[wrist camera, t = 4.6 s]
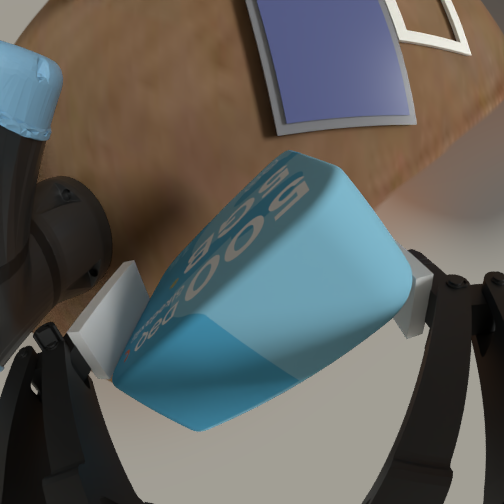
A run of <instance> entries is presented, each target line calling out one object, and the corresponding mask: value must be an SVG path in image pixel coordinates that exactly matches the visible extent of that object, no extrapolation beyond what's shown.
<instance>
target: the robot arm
mask: <svg viewBox="0 0 504 504" xmlns="http://www.w3.org/2000/svg"><path fill="white" fill-rule="evenodd" d="M62 85H63V75H62V72H61V69H60V67H59V66H58V65H57V63H55V62H54V61H52V60H51V59H49V58H47V57H45V56H42V55H40V54H38V53H35V52H33V51H30V50H27V49H25V48H22V47H19V46H16V45H13V44H10V43H7V42H4V41H0V372H1V371H3V369H4V365H5V364H6V363H7V361H8V360H9V359H10V357H11V356H12V355H13V354H14V352H15V351H16V350H17V349H18V347H19V346H20V345H21V344H22V342H23V341H24V340H25V339H26V338H27V337H28V335H29V334H30V333H31V332H32V331H33V330H34V328H35V327H36V326H37V325H38V324H39V323H40V322H41V320H42V319H43V318H44V317H45V316H46V315H47V314H48V313H49V312H50V310H51V309H52V308H53V307H54V306H55V305H56V304H57V303H60V302H62V301H65V300H67V299H70V298H73V297H75V296H78V295H80V294H83V293H85V292H87V291H89V290H90V289H91V288H93V287H94V286H95V285H96V284H97V283H98V282H99V280H100V279H101V278H102V277H103V276H104V275H105V273H106V271H107V269H108V267H109V264H110V261H111V255H112V237H111V231H110V226H109V223H108V220H107V217H106V215H105V212H104V210H103V208H102V206H101V204H100V203H99V201H98V200H97V198H96V197H95V196H94V194H93V193H92V192H91V191H90V190H89V189H88V188H87V187H86V186H85V185H83V184H82V183H81V182H79V181H77V180H75V179H73V178H70V177H65V176H57V177H52V178H49V179H46V180H43V181H41V182H39V183H37V178H38V173H39V168H40V164H41V159H42V155H43V151H44V147H45V143H46V140H48V139H49V138H50V135H51V122H52V118H53V115H54V111H55V108H56V105H57V102H58V99H59V96H60V93H61V90H62ZM36 183H37V184H36ZM394 241H395V242H396V244H397V245H398V247H399V248H400V250H401V251H402V253H403V254H404V256H405V258H406V259H407V261H408V263H409V264H410V267H411V270H412V287H411V291H410V294H409V296H408V298H407V300H406V302H405V304H404V305H403V307H402V308H401V309H400V311H399V312H398V313H397V314H396V315H395V316H394V317H393V318H394V320H395V321H396V323H397V325H398V326H399V328H400V329H401V331H402V332H403V334H404V335H405V337H406V338H407V339H408V338H411V337H414V336H417V335H420V334H422V333H423V329H424V325H425V322H426V324H427V325H428V326H429V327H430V330H429V334H428V338H427V341H426V345H425V351H424V356H423V360H422V364H421V367H420V371H419V375H418V378H417V382H416V385H415V388H414V391H413V394H412V397H411V400H410V404H409V406H408V409H407V412H406V415H405V417H404V420H403V423H402V425H401V428H400V430H399V433H398V435H397V438H396V440H395V442H394V445H393V447H392V449H391V451H390V453H389V455H388V458H387V460H386V462H385V464H384V466H383V468H382V470H381V472H380V474H379V476H378V478H377V479H376V481H375V483H374V485H373V487H372V488H371V490H370V491H369V493H368V495H367V496H366V498H365V499H364V501H363V502H362V504H443V503H444V501H445V498H446V496H447V493H448V491H449V488H450V485H451V481H452V478H453V471H452V470H451V468H450V463H451V459H452V456H453V453H454V449H455V446H456V442H457V438H458V434H459V429H460V425H461V420H462V416H463V411H464V405H465V399H466V392H467V385H468V377H469V368H470V367H469V366H470V355H471V340H472V344H473V349H474V353H475V358H476V362H477V367H478V373H479V378H480V384H481V391H482V398H483V407H484V418H485V434H486V471H485V486H484V502H483V504H504V274H503V273H500V272H488V273H487V274H486V275H485V277H484V281H483V284H474V285H470V283H469V282H468V281H467V280H466V279H465V278H463V277H462V276H458V275H446V274H445V273H444V272H443V271H442V270H440V269H439V268H438V267H437V266H436V265H435V264H433V263H432V262H431V261H430V260H429V259H427V258H426V257H425V256H424V255H423V254H422V253H420V252H418V251H415V250H413V249H411V250H406V249H405V248H404V247H403V246H402V245H400V244H399V243H398V242H397V241H396V240H394ZM149 300H150V298H149V296H148V293H147V291H146V289H145V286H144V284H143V281H142V279H141V276H140V274H139V271H138V269H137V266H136V264H135V261H134V260H132V261H127V262H123V264H122V265H121V266H120V267H119V268H118V269H117V270H116V272H115V273H114V274H113V275H112V276H111V277H110V279H109V280H108V281H107V282H106V283H105V285H104V286H103V287H102V288H101V289H100V291H99V292H98V293H97V294H96V295H95V297H94V298H93V299H92V300H91V302H90V303H89V304H88V305H87V307H86V308H85V309H84V310H83V312H82V313H81V314H80V316H79V317H78V318H77V319H76V321H75V322H74V323H73V325H72V326H71V327H70V329H69V330H68V331H67V333H66V334H65V336H64V337H62V335H61V334H60V332H59V330H58V329H57V327H56V325H55V324H54V323H53V322H48V323H46V324H44V325H42V326H40V327H39V328H38V329H37V330H36V331H35V333H34V334H33V338H34V339H35V341H36V342H37V344H38V345H39V347H40V348H41V350H42V352H41V353H38V354H37V353H36V352H35V350H34V349H33V348H32V346H26V347H23V348H22V349H20V350H19V352H18V353H17V354H16V356H15V358H14V361H13V363H12V366H11V369H10V371H9V374H8V377H7V379H6V382H5V385H4V388H3V391H2V394H1V397H0V504H153V503H148V502H145V503H144V502H143V501H142V500H141V499H140V498H139V497H138V496H137V495H136V493H135V491H134V489H133V487H132V485H131V483H130V481H129V479H128V477H127V475H126V473H125V471H124V469H123V466H122V464H121V462H120V460H119V457H118V455H117V453H116V450H115V448H114V445H113V443H112V440H111V438H110V435H109V433H108V430H107V427H106V424H105V421H104V418H103V415H102V412H101V409H100V406H99V402H98V399H97V396H96V392H95V389H94V385H93V381H92V379H91V378H90V377H89V375H88V374H89V373H90V371H91V370H92V371H93V373H94V374H95V375H96V377H97V378H99V379H110V378H111V376H112V374H113V372H114V370H115V367H116V365H117V363H118V361H119V359H120V357H121V355H122V353H123V351H124V349H125V347H126V345H127V343H128V341H129V339H130V337H131V335H132V333H133V331H134V329H135V327H136V325H137V323H138V321H139V319H140V317H141V315H142V313H143V311H144V310H145V308H146V306H147V304H148V302H149ZM31 383H32V385H33V386H34V387H35V388H36V390H38V394H37V395H36V394H35V393H34V392H33V391H32V389H31Z"/></svg>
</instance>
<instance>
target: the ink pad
mask: <svg viewBox="0 0 504 504" xmlns="http://www.w3.org/2000/svg"><path fill="white" fill-rule="evenodd" d="M245 3H246V7H247V11H248V14H249V18H250V22H251V25H252V29H253V33H254V37H255V41H256V45H257V49H258V53H259V57H260V61H261V65H262V70H263V74H264V78H265V83H266V87H267V91H268V96H269V101H270V105H271V110H272V115H273V119H274V124H275V129H276V134H277V136H281V135H287V134H294V133H301V132H309V131H317V130H326V129H336V128H347V127H360V126H377V125H417V123H416V116H415V110H414V104H413V99H412V94H411V89H410V84H409V80H408V75H407V71H406V67H405V63H404V60H403V56H402V52H401V49H400V45H399V42H398V39H397V36H396V33H395V30H394V27H393V24H392V21H391V18H390V16H389V13H388V10H387V8H386V5H385V3H384V0H245Z"/></svg>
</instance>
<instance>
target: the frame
mask: <svg viewBox="0 0 504 504" xmlns="http://www.w3.org/2000/svg"><path fill="white" fill-rule="evenodd" d="M441 2H442V4H443V7H444V9H445V11H446V14H447V16H448V19H449V21H450V24H451V27H452V30H453V32H454V35H455V38H456V41H457V42H456V41H453V40H449V39H446V38H442V37H438V36H433V35H429V34H424V33H419V32H414V31H409V30H406V27H405V24H404V21H403V19H402V16H401V13H400V11H399V8H398V6H397V3H396V1H395V0H384V3H385V5H386V8H387V10H388V13H389V16H390V18H391V21H392V24H393V27H394V30H395V33H396V36H397V39H398V42H403V43H410V44H416V45H422V46H428V47H433V48H437V49H442V50H446V51H450V52H454V53H458V54H462V55H466V56H470V55H471V52H470V49H469V46H468V43H467V40H466V37H465V34H464V31H463V28H462V26H461V23H460V20H459V18H458V15H457V13H456V11H455V8H454V6H453V4H452V1H451V0H441Z"/></svg>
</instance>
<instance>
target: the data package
mask: <svg viewBox="0 0 504 504" xmlns="http://www.w3.org/2000/svg"><path fill="white" fill-rule="evenodd" d="M411 287H412V270H411V267H410V264H409V263H408V261H407V259H406V258H405V256H404V254H403V253H402V251H401V250H400V248H399V247H398V245H397V244H396V242H395V241H394V239H393V238H392V236H391V235H390V233H389V232H388V230H387V229H386V227H385V226H384V225H383V223H382V222H381V220H380V219H379V217H378V216H377V215H376V213H375V212H374V210H373V209H372V208H371V206H370V205H369V204H368V202H367V201H366V200H365V198H364V197H363V196H362V194H361V193H360V192H359V190H358V189H357V188H356V187H355V185H354V184H353V183H352V182H351V180H350V179H349V178H348V177H347V175H346V174H345V173H344V172H343V170H342V169H341V168H339V167H338V166H335V165H333V164H330V163H327V162H324V161H322V160H319V159H316V158H313V157H310V156H307V155H304V154H301V153H298V152H295V151H292V150H288V151H285V152H284V153H282V154H281V155H279V156H278V157H277V158H276V159H274V160H273V161H272V162H271V163H270V164H269V165H268V166H267V167H266V168H264V169H263V170H262V171H261V172H260V173H259V174H258V175H257V176H256V177H255V178H254V179H253V180H252V181H251V182H250V183H249V184H248V185H247V186H246V187H245V188H244V189H243V190H242V191H241V192H240V193H239V194H238V195H237V196H236V197H235V198H233V199H232V200H231V201H230V202H229V203H228V204H227V205H226V206H225V207H224V208H223V209H222V210H221V211H220V212H219V214H218V215H217V216H216V217H215V218H214V219H213V220H212V221H211V222H210V223H209V224H208V225H207V226H206V227H205V228H204V229H203V230H202V231H201V232H200V233H199V234H198V235H197V236H196V237H195V238H194V239H193V240H192V241H191V242H190V243H189V244H188V246H187V247H186V248H185V249H184V250H183V251H182V252H181V253H180V254H179V255H178V256H177V257H176V259H175V260H174V261H173V262H172V264H171V265H170V266H169V267H168V269H167V270H166V272H165V273H164V275H163V277H162V278H161V280H160V282H159V284H158V286H157V287H156V289H155V291H154V293H153V295H152V296H151V298H150V300H149V302H148V304H147V306H146V308H145V310H144V311H143V313H142V315H141V317H140V319H139V321H138V323H137V325H136V327H135V329H134V331H133V333H132V335H131V337H130V339H129V341H128V343H127V345H126V347H125V349H124V351H123V353H122V355H121V357H120V359H119V361H118V363H117V365H116V367H115V370H114V373H113V377H112V381H113V384H114V386H115V387H116V388H118V389H119V390H121V391H123V392H124V393H126V394H127V395H129V396H130V397H132V398H134V399H135V400H137V401H139V402H140V403H142V404H144V405H145V406H147V407H149V408H151V409H152V410H154V411H156V412H158V413H159V414H162V415H163V416H165V417H167V418H169V419H171V420H173V421H175V422H177V423H179V424H181V425H183V426H185V427H187V428H189V429H191V430H193V431H205V430H208V429H210V428H213V427H215V426H217V425H219V424H222V423H224V422H226V421H229V420H231V419H233V418H235V417H237V416H239V415H241V414H243V413H246V412H248V411H250V410H251V409H254V408H256V407H258V406H259V405H261V404H263V403H265V402H267V401H269V400H271V399H273V398H275V397H276V396H278V395H280V394H282V393H283V392H285V391H287V390H289V389H291V388H292V387H294V386H296V385H297V384H299V383H301V382H303V381H304V380H306V379H307V378H309V377H311V376H312V375H314V374H315V373H317V372H319V371H320V370H322V369H323V368H325V367H326V366H328V365H330V364H331V363H333V362H334V361H336V360H337V359H339V358H340V357H341V356H343V355H344V354H346V353H347V352H349V351H350V350H351V349H353V348H354V347H356V346H357V345H358V344H360V343H361V342H363V341H364V340H365V339H367V338H368V337H369V336H370V335H372V334H373V333H375V332H376V331H377V330H378V329H380V328H381V327H382V326H383V325H385V324H386V323H387V322H388V321H390V320H391V319H392V318H393V317H394V316H395V315H396V314H397V313H398V312H399V311H400V309H401V308H402V307H403V305H404V304H405V302H406V300H407V298H408V296H409V294H410V291H411Z"/></svg>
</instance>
